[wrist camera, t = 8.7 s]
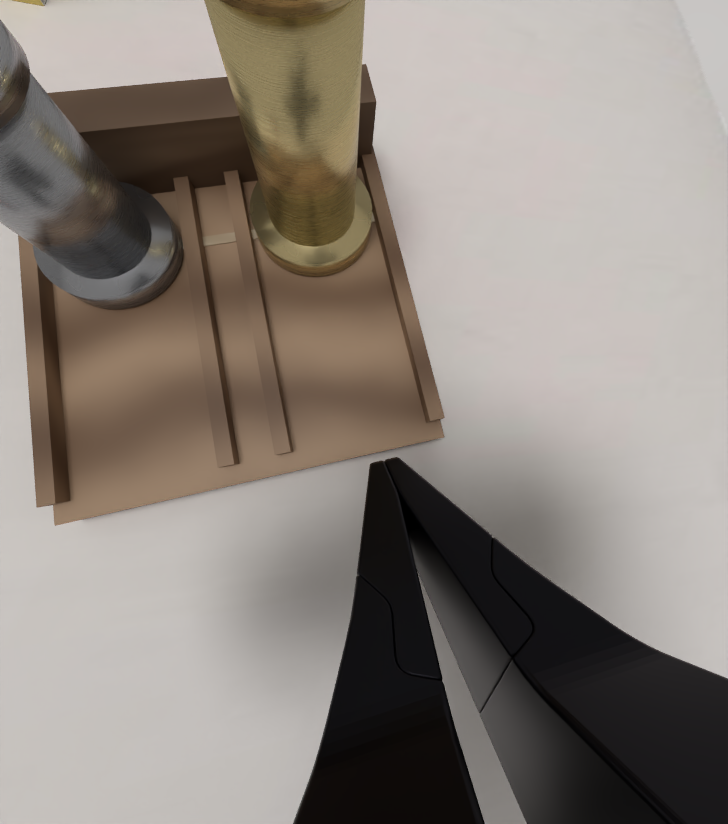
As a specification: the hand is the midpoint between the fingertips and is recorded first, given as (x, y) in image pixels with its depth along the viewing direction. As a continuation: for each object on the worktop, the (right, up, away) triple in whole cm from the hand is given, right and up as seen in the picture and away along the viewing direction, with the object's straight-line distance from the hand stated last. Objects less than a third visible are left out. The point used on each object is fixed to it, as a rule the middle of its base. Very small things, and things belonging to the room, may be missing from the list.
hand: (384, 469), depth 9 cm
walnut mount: (-8, +8, +10) cm, 15 cm away
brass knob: (-4, +13, +9) cm, 16 cm away
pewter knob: (-14, +11, +8) cm, 20 cm away
